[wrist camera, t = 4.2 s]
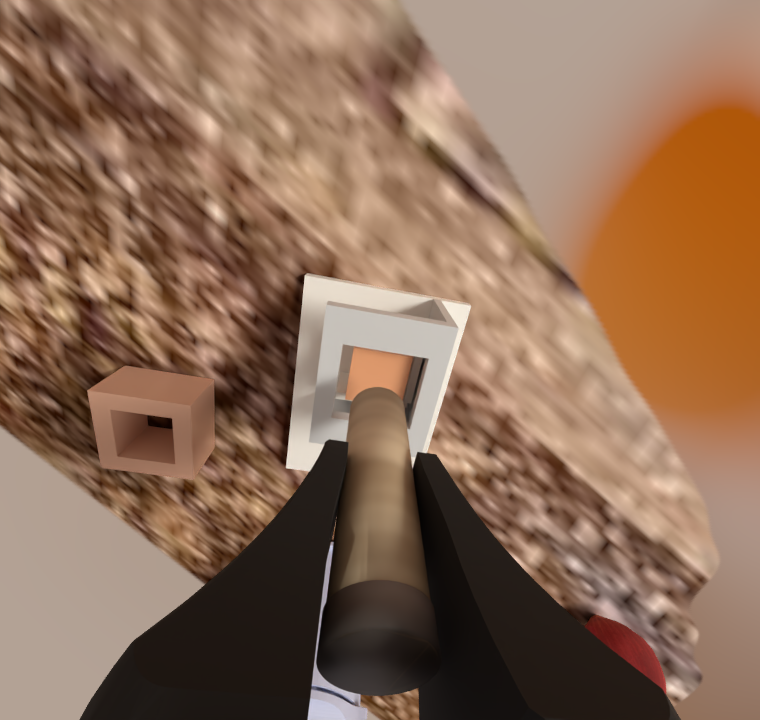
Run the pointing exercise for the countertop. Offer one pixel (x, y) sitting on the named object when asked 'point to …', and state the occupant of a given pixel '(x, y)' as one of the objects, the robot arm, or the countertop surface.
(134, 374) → the stylus holder
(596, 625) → the onion
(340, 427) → the square socket plate
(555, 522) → the countertop surface
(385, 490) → the stylus
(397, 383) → the button
